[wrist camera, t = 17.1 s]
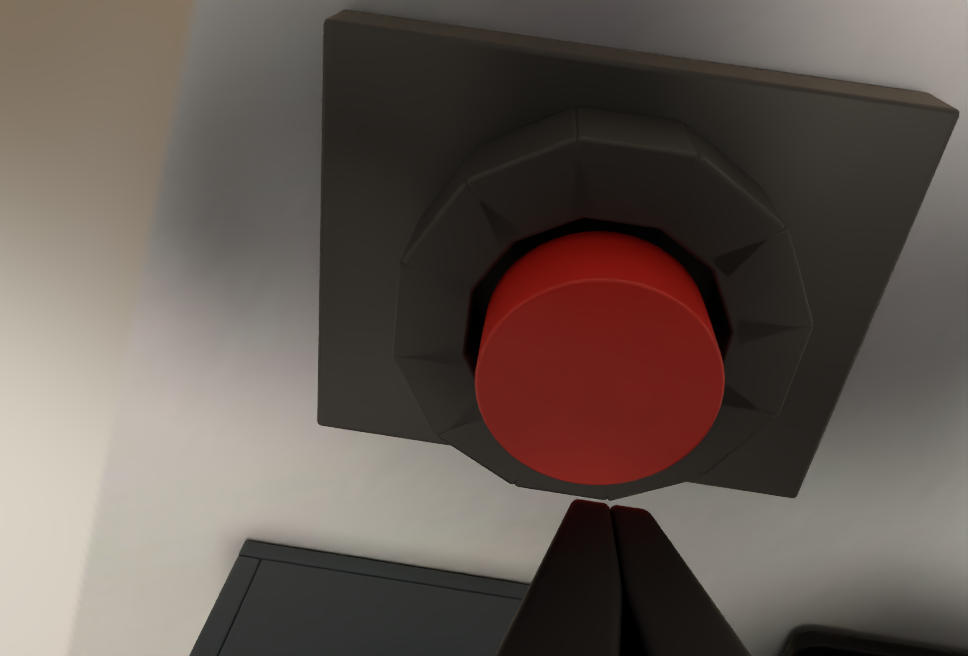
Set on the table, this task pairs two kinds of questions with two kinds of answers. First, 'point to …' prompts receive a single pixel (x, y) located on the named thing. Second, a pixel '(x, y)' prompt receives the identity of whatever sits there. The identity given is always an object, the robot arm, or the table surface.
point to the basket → (353, 608)
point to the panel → (603, 224)
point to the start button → (598, 360)
